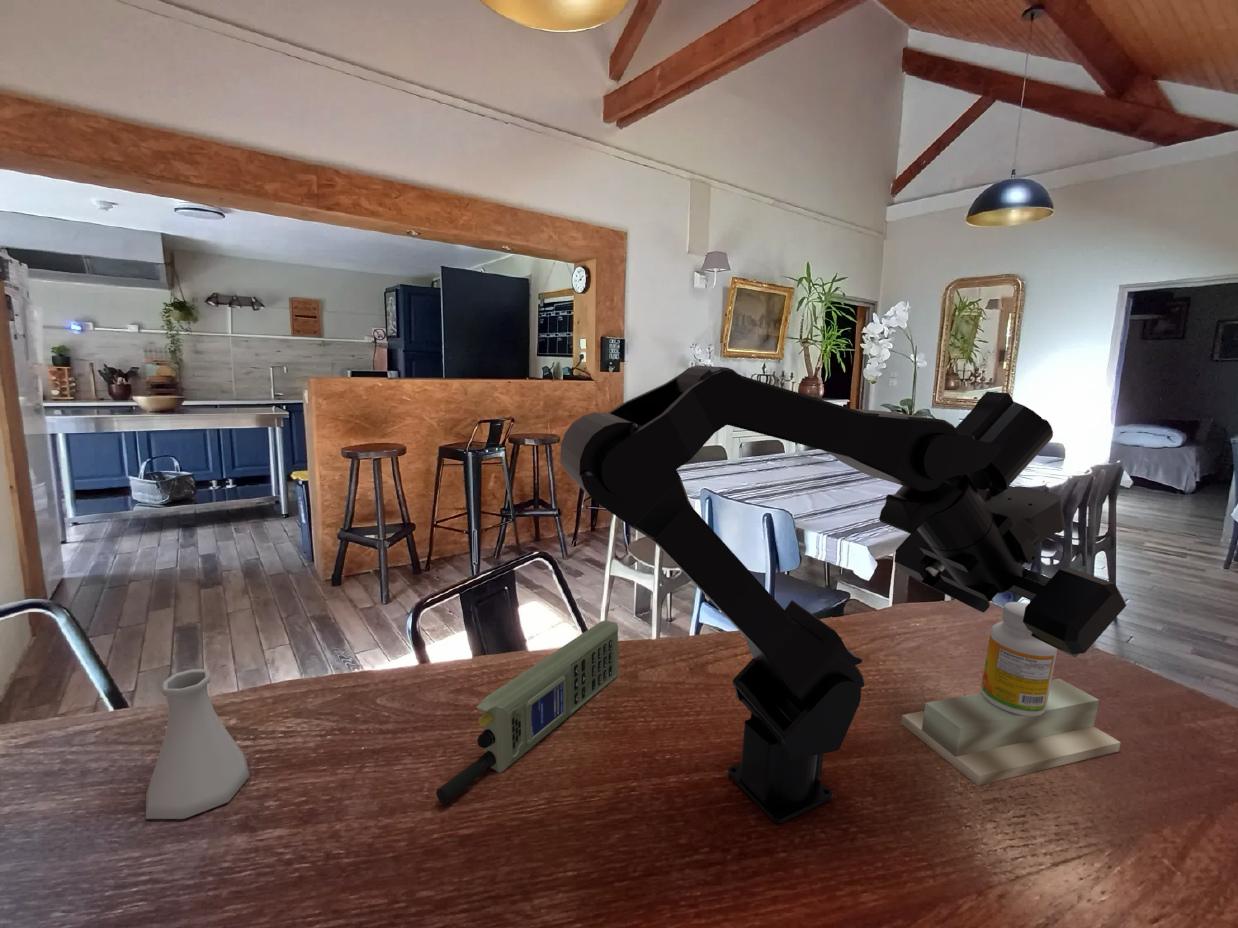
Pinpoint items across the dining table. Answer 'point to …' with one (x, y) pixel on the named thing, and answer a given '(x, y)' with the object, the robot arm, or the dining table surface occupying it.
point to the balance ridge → (1011, 734)
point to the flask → (193, 753)
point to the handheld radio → (540, 702)
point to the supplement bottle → (1017, 665)
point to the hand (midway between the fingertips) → (1028, 628)
